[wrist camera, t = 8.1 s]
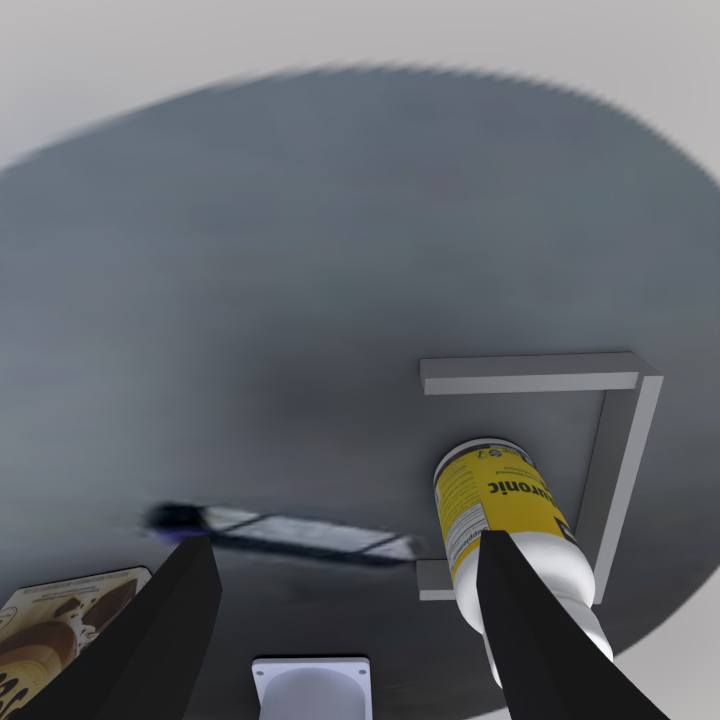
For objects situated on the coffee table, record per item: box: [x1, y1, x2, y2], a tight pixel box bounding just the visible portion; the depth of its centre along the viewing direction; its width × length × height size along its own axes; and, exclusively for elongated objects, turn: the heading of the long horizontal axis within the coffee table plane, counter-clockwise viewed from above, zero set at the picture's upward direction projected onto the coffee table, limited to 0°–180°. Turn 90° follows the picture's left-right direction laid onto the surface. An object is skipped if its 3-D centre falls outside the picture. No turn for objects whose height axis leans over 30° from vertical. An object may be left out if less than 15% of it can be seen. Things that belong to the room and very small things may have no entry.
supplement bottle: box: [433, 438, 613, 688], centre depth 19 cm, size 5×5×10 cm
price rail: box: [416, 352, 664, 604], centre depth 22 cm, size 14×10×2 cm
